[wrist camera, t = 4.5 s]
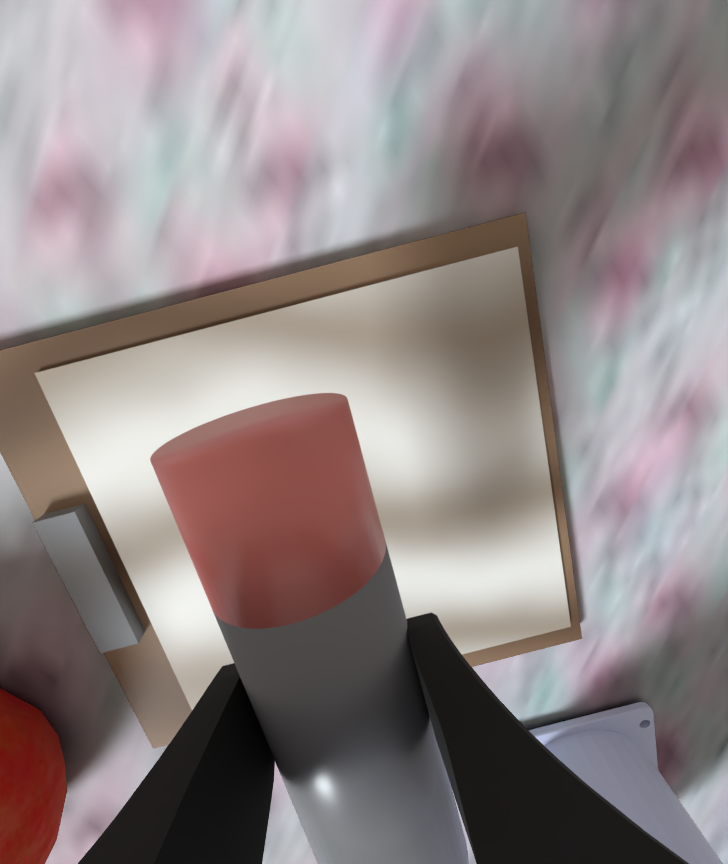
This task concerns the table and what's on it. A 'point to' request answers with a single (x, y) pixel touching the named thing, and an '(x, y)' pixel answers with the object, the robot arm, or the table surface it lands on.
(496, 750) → the robot arm
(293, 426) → the marker
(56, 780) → the apple
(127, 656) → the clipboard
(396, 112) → the table surface
